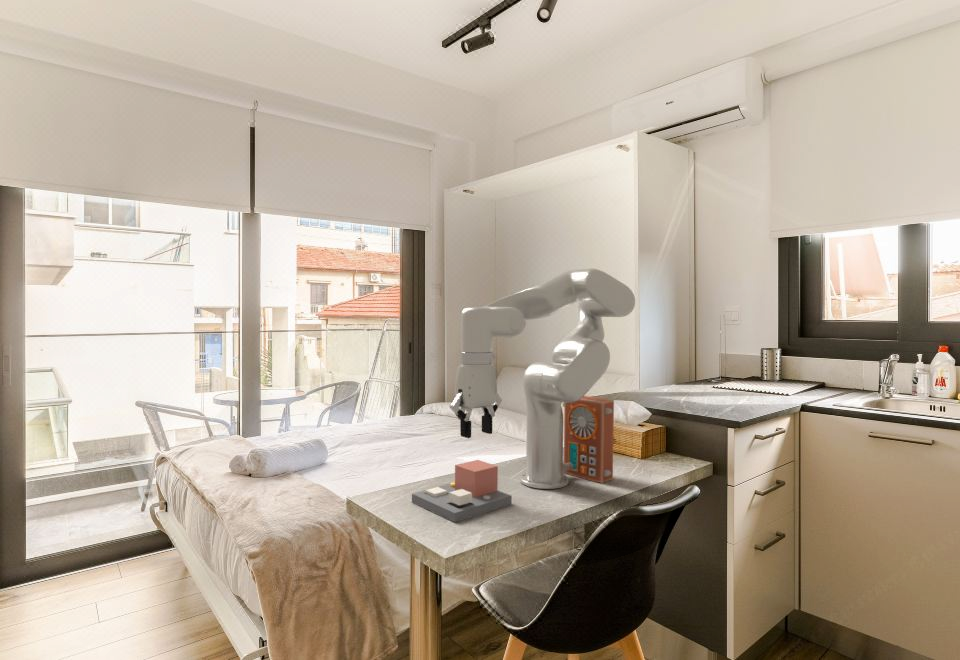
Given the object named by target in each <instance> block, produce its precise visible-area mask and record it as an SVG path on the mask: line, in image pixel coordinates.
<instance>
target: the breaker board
mask: <svg viewBox="0 0 960 660" xmlns="http://www.w3.org/2000/svg"><path fill="white" fill-rule="evenodd" d="M438 487H439V488H442V489H444V490H446V491H447V495H443V496H439V497H436V498H433V497H431V496H429V495H427V494H426V490H427V489H425V490H424V489H423V490H421V491H417V492H413V493H411V503H413V504H415V505H417V506H419V507H422V508H423V509H425V510H428V511H430V512H433V513H434V514H435V515H438V516H440V517H442V518H445V519H447V520H449V521H451V522H453V523H457V522H461V521H463V520H467V519H469V518H473V517H475V516H479V515H482V514H485V513H488V512H491V511H495V510H497V509H500V508H503V507H504V508H505V507H507V506H510V505H512V501H513V500H512V497H513V496H512V494H509V493H506V492H503V491H500V490H498V489H497V491H496V492H493V493H489V494H486V495H482V496H479V497H476V498H474V497H472V502H470V503H467V504H463V505H460V506H459V505H457V504H455V503H452V502H450V501H449V492H452V491H456V490H455V482H450V483H448V484H444V485H440V486H438Z"/></svg>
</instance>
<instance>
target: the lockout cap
mask: <svg viewBox="0 0 960 660" xmlns="http://www.w3.org/2000/svg"><path fill="white" fill-rule="evenodd" d="M498 468H499V467H498V465H495V464H492V463H490V462H486V461H484V460H479V459H475V460H472V461H467V462H464V463H463V462H462V463H459V464H455V465H454V483H455V490H460V489H463V490H466V491H468V492H471V493H472V497H474V498H476V497H479V496H482V495H486V494H489V493H493V492H496V491H497V490H498V485H499V484H498V482H499V481H498V480H499V479H498V478H499V477H498V476H499V475H498V474H499V473H498V470H499V469H498Z"/></svg>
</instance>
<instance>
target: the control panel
mask: <svg viewBox="0 0 960 660" xmlns="http://www.w3.org/2000/svg"><path fill="white" fill-rule="evenodd" d="M561 406H562V407H564V410H563V411H564V412H563V463H568V462H571V463H572V464H573V469H570V470H566V472H565V475H568V476H573V477H578V478H581V479H584V480H588V481H592V482H594V483H595V482H596V483H600V484H604V483H606V482H608V481H611V480H613V479H614V477H613V476H614V471H613V470H614V429H615V428H614V425H615V424H614V423H615V421H614V418H615V417H614V415H615V414H614V413H615V412H614V411H615V400H614V399H608V398H604V397H603V398H601V397H594V396H587V395H584V396H583V397H582V398H581V399H580V400H578V401H576V402H573V403H565V402H562V405H561Z"/></svg>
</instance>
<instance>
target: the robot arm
mask: <svg viewBox="0 0 960 660" xmlns="http://www.w3.org/2000/svg"><path fill="white" fill-rule="evenodd" d="M574 303H578V305H577V307H578V321H577V324H576V325H575V326H574V328H573V329H572V330H571V331H570V332H568V334H567V335H566V336H565V337H564V338H563V339H561V341H560V342H559V343H557V345H556V346H555V347H554V348H553V350H552V353H551V361H537V362H533V363H532V364H530V365H529V366H528V367H527V368H526V369H525V371H524V374H523V378H522V379H523V380H522V381H523V382H522V383H523V390H524V395H525V401H526V450H525V451H526V453H525V454H526V457H525V458H526V459H525V460H526V461H525V462H526V463H525V464H526V465H525V469H526V471H525V472H524V473H522V474H521V475H520V480H519V481H520V483H521V484H523V485H524V486H526V487H529V488H533V489H541V490H552V489H560V488H564V487H566V486H568V484H569V477H568V476H567V474H565V472H566V470H570V469H573V464H572V463H571V462H568V463H563V461H564V412H563V411H564V410H563V408H562V407H563V406H562V405H561V403H564V402H565V403H573V402H576V401H578V400H580V399H581V398H582V397H583V396H586V394H587V393H588V392H589V391H590V390H591V389H592V388H593V386H594V385H595V384H596V383H597V382H599V380H600V379H601V378H602V377H603V375H604V374H605V373H606V371H607V369H608V367H609V365H610V362H611V354H610V350H609V347H608V346H607V344H606V343H605V342H604V340H605V330H604V329H605V328H604V325H603V320H602V318H624V317H627V316H629V315H630V314H631V313H632V312H633V311H634V308H635V306H636V297H635V294H634V292H633V291H632V289H631V288H630V286H627V285H626V284H624V283H623V282H621V281H620V280H618V279H617V278H616V277H614V276H612V275H610V274H608V273H606V272H604V271H602V270H600V269H597V268H583V269H571V270H567V271H565V272H563V273H560V274H557V275H556V276H554V277H552V278H549V279H548V280H546V281H544V282H542V283H540V284H538V285H536V286H532V287H530V288H526V289H523V290H520V291H517V292H516V293H512V294H510V295H506V296H504V297H500V298H499V299H497V300H494V301H492V302H490V303H488V304H486V305H484V306H482V307H473V306H471V307H465V308H463V309H462V311H461V317H460V318H461V322H460V323H461V326H460V328H461V329H460V330H461V333H460V336H461V337H460V338H461V339H460V340H461V342H460V344H461V345H460V346H461V347H460V351H461V353H460V354H461V355H460V357H461V358H460V362H461V363H460V365H458V367H457V370H456V375H455V382H454V394H453V395H454V397H453V400H452V402H451V403H450V405H449V408H450V410H451V411H452V412H453V413H454V415H456V417H457V419H458V420H460V421H459V422H460V425H459V426H460V428H459V429H460V433H459V435H460V436H461V437H463V438H465V439H471V438H472V421H471V420H470V418H471V414H472V413H473V412H472V411H473V410H474V409H480V408H481V409H482V413H483V415H481V432H482V433H484V434H489V435H491V434H493V418H494V417H495V416H496V415H495V413H496V411H497V410H498V407H499V406H500V404H501V403H502V402H503V401H502V400H503V399H502V398H501V396H499V394H498V389H497V388H498V387H497V386H498V385H497V374H496V369H495V364H494V359H495V357H496V355H495V353H494V338H504V339H505V338H506V339H510V338H511V339H512V338H515V337H518V336H519V335H521V334H522V333H523V332H524V330H525V328H526V324H527V320H528V321H530V320H537V319H542V318H543V319H544V318H547V317H550V316H552V315H554V314H556V313H558V312H560V311H561V310H564V309H565V308H567V307H569V306H572V305H573V304H574Z"/></svg>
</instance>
